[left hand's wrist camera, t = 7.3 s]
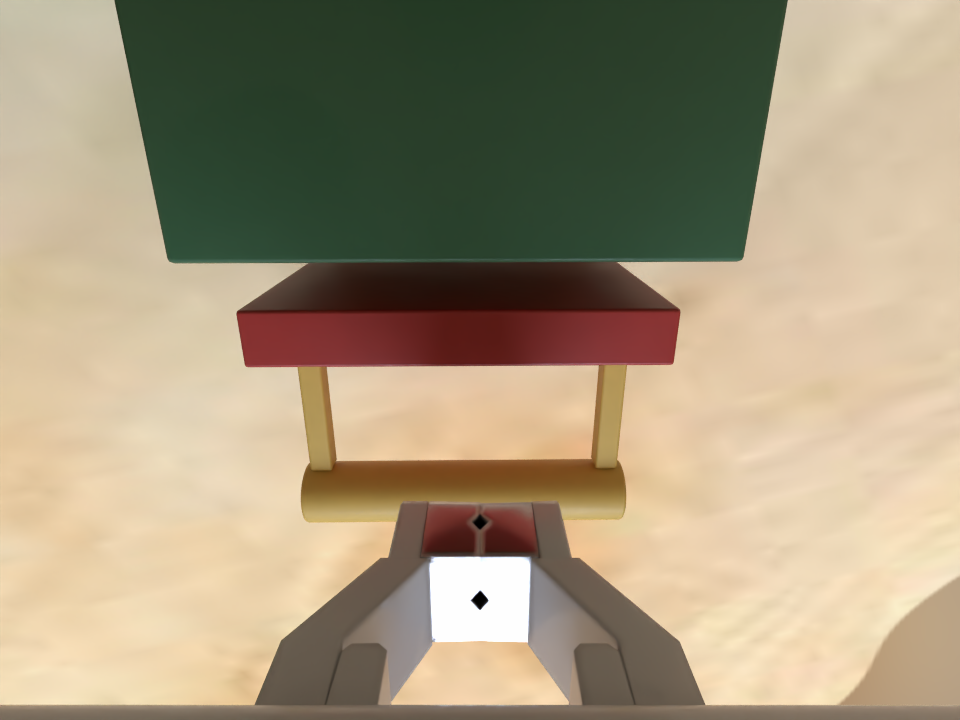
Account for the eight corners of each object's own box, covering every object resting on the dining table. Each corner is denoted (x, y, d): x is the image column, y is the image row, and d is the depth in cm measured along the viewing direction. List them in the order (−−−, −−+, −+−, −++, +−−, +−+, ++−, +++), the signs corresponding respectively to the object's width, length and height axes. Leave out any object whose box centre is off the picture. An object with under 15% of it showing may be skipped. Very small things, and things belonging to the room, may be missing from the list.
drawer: (588, 445, 19) (645, 586, 13) (342, 447, 19) (280, 591, 13) (646, -263, 13) (819, -676, 6) (269, -266, 13) (62, -694, 6)
